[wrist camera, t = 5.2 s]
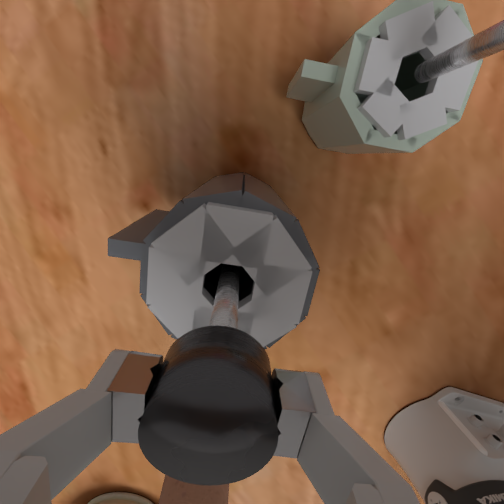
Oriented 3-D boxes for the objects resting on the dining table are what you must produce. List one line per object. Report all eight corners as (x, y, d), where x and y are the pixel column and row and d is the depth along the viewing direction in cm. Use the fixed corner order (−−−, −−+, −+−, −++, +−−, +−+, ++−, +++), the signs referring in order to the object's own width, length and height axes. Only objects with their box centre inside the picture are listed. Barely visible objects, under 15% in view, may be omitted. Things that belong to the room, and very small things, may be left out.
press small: (388, 75, 28) (513, 6, 15) (364, 157, 30) (453, 159, 17) (289, 54, 27) (331, -39, 14) (274, 140, 30) (297, 129, 17)
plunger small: (458, 47, 15) (818, -136, 6) (437, 107, 16) (713, 37, 7) (407, 35, 15) (691, -176, 5) (389, 97, 16) (603, 10, 6)
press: (288, 179, 31) (342, 209, 14) (270, 264, 35) (296, 373, 17) (172, 159, 30) (74, 163, 13) (166, 249, 34) (81, 348, 16)
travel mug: (174, 395, 41) (115, 598, 22) (222, 381, 41) (202, 578, 22) (194, 430, 44) (156, 639, 25) (239, 417, 43) (235, 622, 24)
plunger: (261, 238, 19) (291, 393, 7) (252, 284, 20) (264, 490, 8) (209, 230, 19) (140, 376, 6) (203, 277, 20) (135, 479, 8)
